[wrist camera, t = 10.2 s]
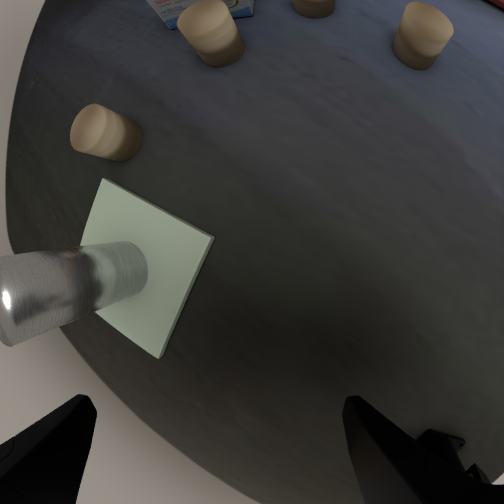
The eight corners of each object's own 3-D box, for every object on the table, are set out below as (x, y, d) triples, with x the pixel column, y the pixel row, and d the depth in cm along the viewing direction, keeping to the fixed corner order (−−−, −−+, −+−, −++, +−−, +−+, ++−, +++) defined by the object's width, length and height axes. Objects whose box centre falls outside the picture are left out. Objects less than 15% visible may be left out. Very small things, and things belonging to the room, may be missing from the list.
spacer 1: (149, 127, 20) (112, 108, 15) (130, 167, 21) (90, 157, 16) (120, 117, 21) (83, 100, 16) (103, 154, 21) (64, 144, 16)
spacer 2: (435, 51, 15) (455, 19, 10) (427, 77, 15) (450, 46, 10) (397, 30, 15) (410, -5, 10) (387, 55, 16) (401, 19, 11)
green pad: (215, 237, 20) (211, 237, 19) (162, 355, 22) (158, 359, 21) (108, 179, 21) (102, 178, 21) (74, 288, 23) (69, 289, 22)
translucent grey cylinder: (146, 240, 20) (8, 259, 8) (150, 298, 21) (25, 356, 9) (104, 241, 21) (-23, 256, 9) (107, 293, 21) (-10, 335, 10)
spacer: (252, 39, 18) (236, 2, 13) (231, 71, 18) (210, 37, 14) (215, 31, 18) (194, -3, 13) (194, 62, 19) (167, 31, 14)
